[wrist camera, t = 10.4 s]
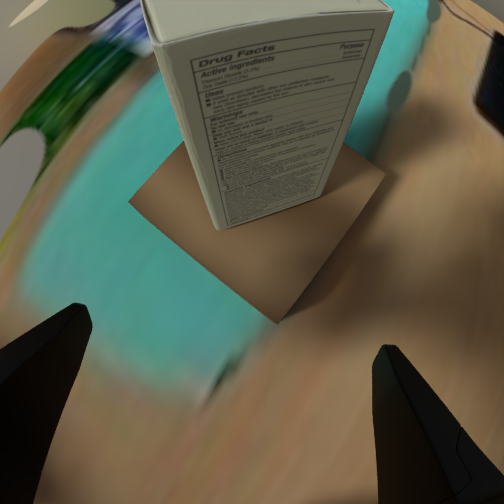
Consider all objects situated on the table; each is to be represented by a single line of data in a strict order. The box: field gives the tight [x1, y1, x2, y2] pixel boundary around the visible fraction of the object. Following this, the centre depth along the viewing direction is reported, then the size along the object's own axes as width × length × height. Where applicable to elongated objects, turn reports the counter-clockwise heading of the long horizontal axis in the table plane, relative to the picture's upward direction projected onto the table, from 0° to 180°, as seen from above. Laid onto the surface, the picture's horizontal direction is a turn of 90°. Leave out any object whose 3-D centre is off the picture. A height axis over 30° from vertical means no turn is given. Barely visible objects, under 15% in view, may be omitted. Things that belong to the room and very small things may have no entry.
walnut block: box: [128, 141, 386, 324], centre depth 20 cm, size 11×11×4 cm
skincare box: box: [140, 0, 394, 230], centre depth 12 cm, size 6×4×12 cm
